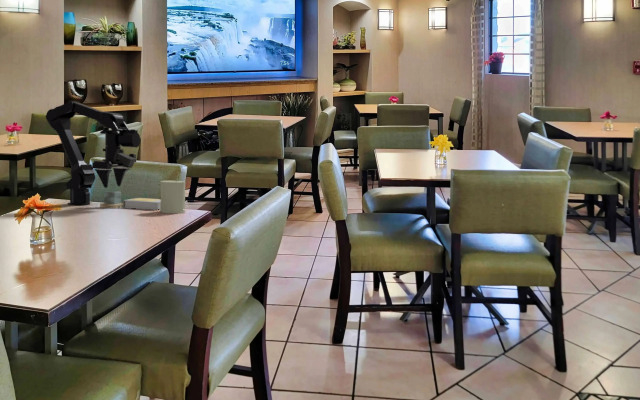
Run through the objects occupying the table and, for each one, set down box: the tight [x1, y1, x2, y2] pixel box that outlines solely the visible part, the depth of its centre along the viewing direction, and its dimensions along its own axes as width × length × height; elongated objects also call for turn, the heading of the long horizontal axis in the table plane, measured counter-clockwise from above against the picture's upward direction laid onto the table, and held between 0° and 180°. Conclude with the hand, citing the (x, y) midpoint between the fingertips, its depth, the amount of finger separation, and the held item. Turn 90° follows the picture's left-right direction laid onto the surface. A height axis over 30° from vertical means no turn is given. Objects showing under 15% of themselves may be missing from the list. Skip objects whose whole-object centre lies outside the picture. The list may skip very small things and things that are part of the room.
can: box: [159, 179, 186, 215], centre depth 222 cm, size 9×9×12 cm
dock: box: [123, 197, 161, 211], centre depth 232 cm, size 14×11×3 cm
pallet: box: [99, 190, 124, 209], centre depth 229 cm, size 7×6×6 cm
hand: (112, 186), depth 229 cm, fingers open, 9 cm apart
